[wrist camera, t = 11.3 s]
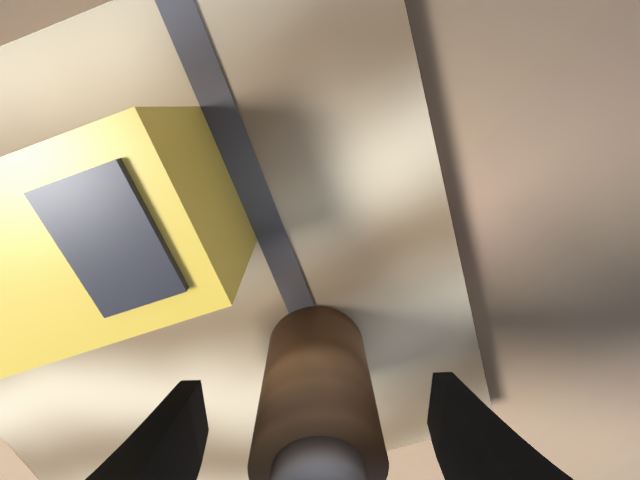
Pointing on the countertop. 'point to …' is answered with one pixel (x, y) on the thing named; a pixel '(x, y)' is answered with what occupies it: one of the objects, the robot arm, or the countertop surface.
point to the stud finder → (115, 234)
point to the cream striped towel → (256, 213)
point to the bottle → (317, 403)
